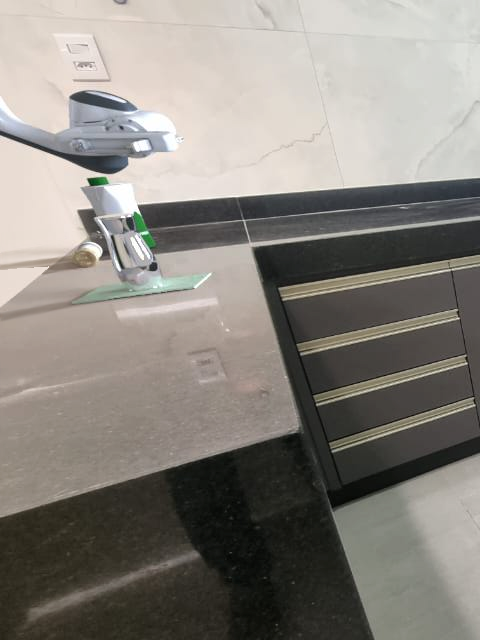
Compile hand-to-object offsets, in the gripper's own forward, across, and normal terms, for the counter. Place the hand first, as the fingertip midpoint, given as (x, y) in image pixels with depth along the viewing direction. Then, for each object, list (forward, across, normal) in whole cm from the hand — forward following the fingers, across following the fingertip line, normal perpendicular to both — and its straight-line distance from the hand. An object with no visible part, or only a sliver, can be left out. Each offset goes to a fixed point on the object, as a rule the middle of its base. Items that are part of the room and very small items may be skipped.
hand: (103, 147), depth 111 cm
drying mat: (+15, -4, -26) cm, 30 cm away
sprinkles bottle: (-18, +22, -29) cm, 40 cm away
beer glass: (+14, -3, -10) cm, 17 cm away
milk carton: (-39, +21, -34) cm, 56 cm away
